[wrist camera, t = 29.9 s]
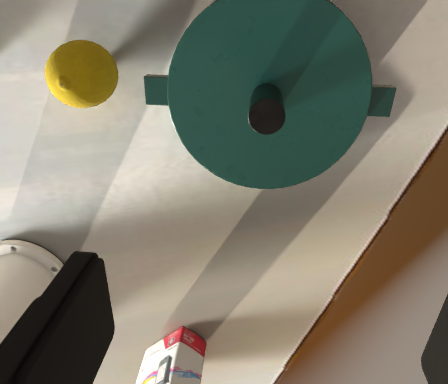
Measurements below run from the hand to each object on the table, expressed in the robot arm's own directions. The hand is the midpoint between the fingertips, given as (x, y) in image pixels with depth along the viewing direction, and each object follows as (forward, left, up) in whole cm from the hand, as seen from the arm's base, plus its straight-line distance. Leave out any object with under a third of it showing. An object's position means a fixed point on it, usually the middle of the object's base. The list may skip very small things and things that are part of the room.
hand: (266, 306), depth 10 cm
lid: (0, 0, -23) cm, 23 cm away
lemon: (+1, +16, -28) cm, 33 cm away
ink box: (-38, +10, -28) cm, 49 cm away
